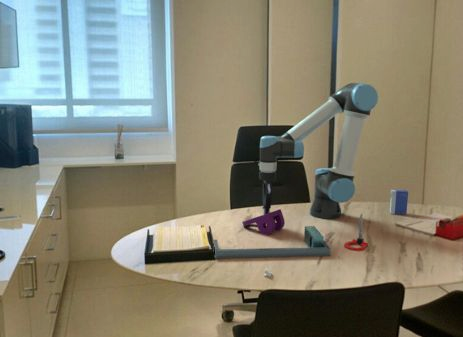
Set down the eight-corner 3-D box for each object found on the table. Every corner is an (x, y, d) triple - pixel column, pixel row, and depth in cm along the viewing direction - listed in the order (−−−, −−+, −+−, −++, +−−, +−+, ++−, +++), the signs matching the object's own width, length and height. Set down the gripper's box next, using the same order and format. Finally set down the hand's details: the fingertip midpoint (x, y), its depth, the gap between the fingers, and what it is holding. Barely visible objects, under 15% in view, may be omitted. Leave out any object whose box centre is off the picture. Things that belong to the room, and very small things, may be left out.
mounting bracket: (244, 241, 215) (274, 232, 203) (238, 223, 216) (267, 213, 204) (257, 236, 222) (287, 227, 210) (251, 218, 223) (280, 208, 211)
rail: (313, 235, 207) (314, 221, 206) (330, 256, 183) (330, 240, 182) (211, 237, 203) (211, 223, 201) (215, 258, 179) (215, 243, 178)
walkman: (404, 212, 243) (406, 189, 241) (406, 214, 240) (408, 190, 238) (388, 212, 243) (390, 189, 241) (390, 214, 241) (392, 190, 238)
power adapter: (265, 274, 166) (265, 266, 165) (272, 275, 165) (273, 266, 165) (263, 278, 163) (263, 269, 162) (271, 279, 162) (271, 270, 162)
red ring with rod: (359, 253, 187) (370, 246, 194) (360, 221, 184) (372, 215, 191) (340, 248, 193) (351, 241, 199) (341, 217, 190) (352, 211, 197)
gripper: (257, 168, 221) (256, 217, 226) (261, 173, 208) (259, 226, 213) (273, 168, 222) (272, 217, 226) (278, 173, 209) (276, 226, 213)
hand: (266, 221), depth 220 cm, fingers closed
